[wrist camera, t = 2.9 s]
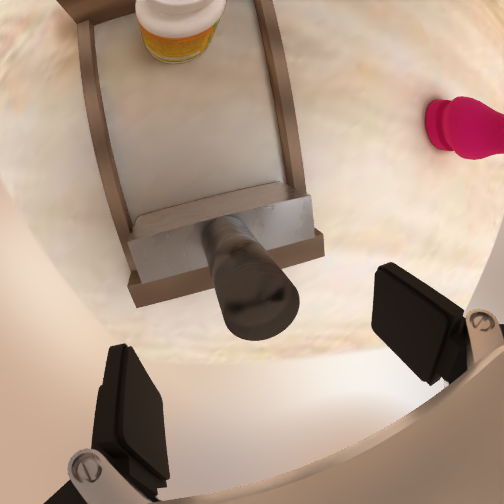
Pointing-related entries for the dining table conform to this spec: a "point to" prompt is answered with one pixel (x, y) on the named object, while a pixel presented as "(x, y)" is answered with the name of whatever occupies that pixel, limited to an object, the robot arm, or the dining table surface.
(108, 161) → the vise frame
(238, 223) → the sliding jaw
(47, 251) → the dining table surface
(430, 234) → the dining table surface
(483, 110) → the pepper mill
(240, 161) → the dining table surface
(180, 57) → the supplement bottle
